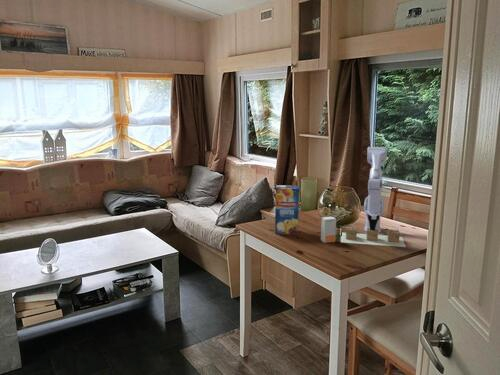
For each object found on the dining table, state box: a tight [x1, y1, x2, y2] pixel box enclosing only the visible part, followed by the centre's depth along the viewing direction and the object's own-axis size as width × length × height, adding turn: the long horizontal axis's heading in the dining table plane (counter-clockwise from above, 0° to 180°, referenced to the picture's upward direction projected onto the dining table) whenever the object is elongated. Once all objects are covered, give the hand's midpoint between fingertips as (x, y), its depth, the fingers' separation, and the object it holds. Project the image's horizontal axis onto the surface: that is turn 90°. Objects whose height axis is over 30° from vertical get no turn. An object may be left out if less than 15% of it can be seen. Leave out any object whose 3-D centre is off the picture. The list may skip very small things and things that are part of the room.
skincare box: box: [320, 216, 337, 244], centre depth 211 cm, size 6×4×12 cm
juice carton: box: [274, 184, 300, 235], centre depth 225 cm, size 12×8×24 cm, turn 84°
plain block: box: [366, 228, 379, 241], centre depth 214 cm, size 5×5×5 cm
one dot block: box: [387, 228, 401, 243], centre depth 212 cm, size 5×5×5 cm
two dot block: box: [345, 226, 358, 240], centre depth 216 cm, size 5×5×5 cm
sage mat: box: [340, 232, 406, 248], centre depth 214 cm, size 16×30×1 cm, turn 77°
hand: (372, 229), depth 213 cm, fingers closed, pressing on plain block
